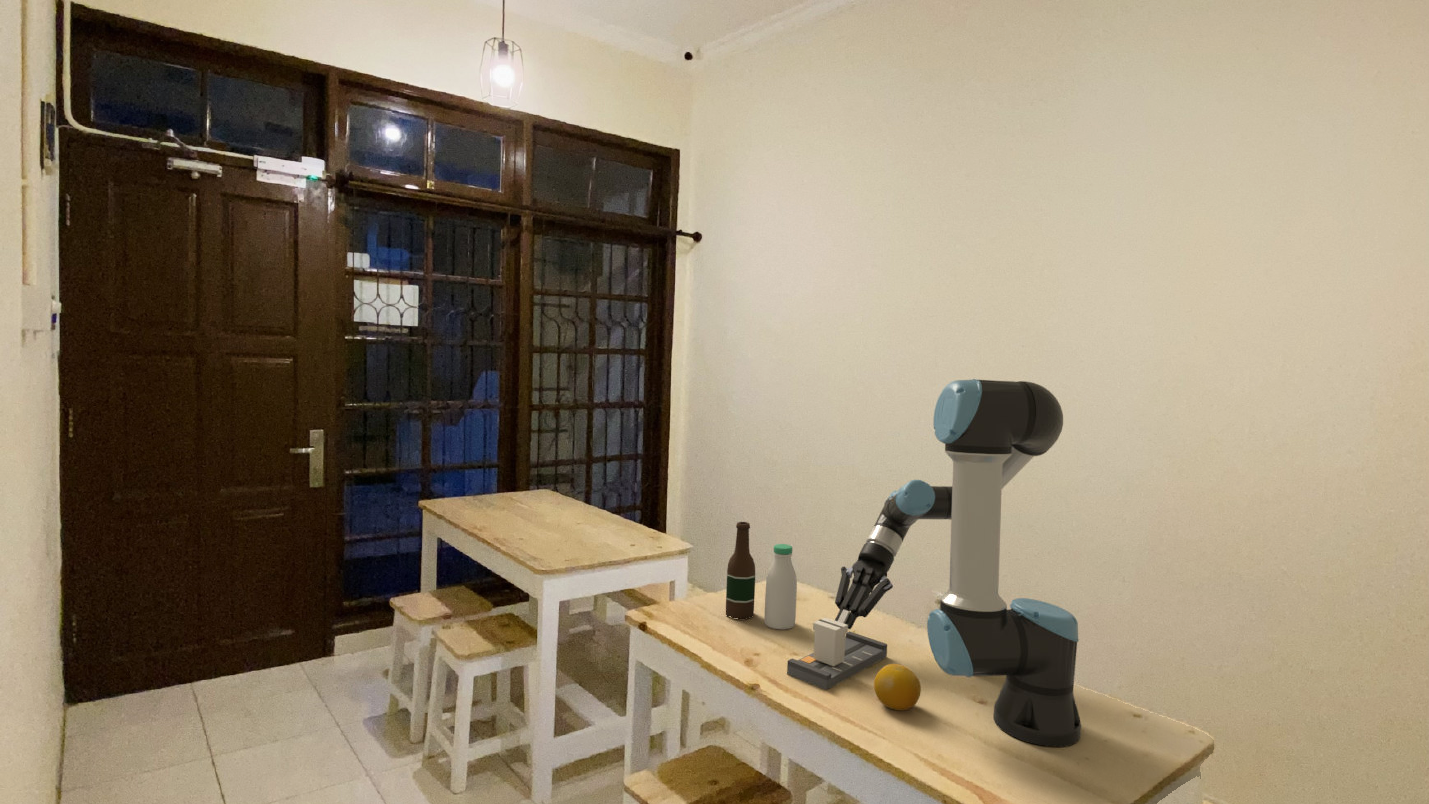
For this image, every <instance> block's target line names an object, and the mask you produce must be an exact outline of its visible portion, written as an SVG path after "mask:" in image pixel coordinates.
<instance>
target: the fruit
mask: <svg viewBox="0 0 1429 804" xmlns="http://www.w3.org/2000/svg"><path fill="white" fill-rule="evenodd" d="M873 689H874V692H875V695H876V697H877V699H878V700H879V701H880V703H881V704H882V705H884V706H885V707H887V708H889V709H892V710H895V711H905V710H906V711H907V710H909V709H910V708H912V707H914V706H916V704H917V703H918V701H919V699H920V696H921V692H922V686H921V682H920V679H919V678H918V675H916V673H915V672H913V670H911V669H910V668H908V667H907V666H904V665H902V664H897V663H890V664H887V665H884V666H883V667H882V668H881V669H879V671H878V672H877V673H876V675H875V678H874V682H873Z"/></svg>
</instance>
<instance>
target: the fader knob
mask: <svg viewBox="0 0 1429 804" xmlns="http://www.w3.org/2000/svg"><path fill="white" fill-rule="evenodd" d="M812 630H813V631H814V640H813V653H814V655H813V659H815V660H818V661H821V662H823V663H826V664H829V665H831V666H835V665H837V664H839V663H841V662H843V661H844V653H845V637H846V633H847V632H849V631H848V630H849V629H848V625H847V624H844V623H841V622H838V621H835V619H831V618H828V617H823V618H819V619H818V620H816V621H814V622H813V623H812Z"/></svg>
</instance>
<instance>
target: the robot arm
mask: <svg viewBox="0 0 1429 804" xmlns="http://www.w3.org/2000/svg"><path fill="white" fill-rule="evenodd" d="M933 412H934V414H933V429H934V435H935V437H936V439H937V440H938V441H939V442H940V443H943V444H944V453H945V454H946V455H947V456H948V457H949V458H950V459H951V460H952V484H951V485H952V486H951V485H949V486H945V485H943V486H942V485H940V486H935V485H931V484H929V483H928V482H926V481H923V480H921V479H913V480H910V481H908V482H906V483H905V484H904V485H902V486H901V487H899V489H898V490H894V491H892V492H891V493H890V494H889V496H888V498H886V500H885V502H884V505H883V507H882V509H881V511H880V513H879V514H878V516H877V520H876V521H875V523H874V525H873V527H872V529H871V530H870V532H869V534H868V536H867V538H866V539H865V543H864V544H863V546H862V547H861V550H860V552H859V554H858V557H857V560H856V561H855V562H854V563H853V564H852V566H850V567H846V566H842V567H841V568H840V574H841V576H840V581H839V585H838V588H837V593H836V596H835V600H834V604H835V605H836V607H837V608H838V609H839V611H838V613H837V615H836V617H835V618H834V620H835V621H838V622H841V623H844V624H847V625H848V630H851V629H852V628H853V626H854V624H855V623H856V620H857V619H858V618H859V617H863V618H866V617H867V616H868V615H870V613H871V612H872V611H873V609H874V608H875V607H876V606H877V604H878V603H879V601H880V600H881V599H882V598H883V597H884V595H885V594H886V593H887V592H889V591H890V590H891V589H893V588H894V587H893V583H892V582H891V580H890V578H888V572H889V570H890V569H891V567H892V565H893V563H894V561H895V557H897V554H898V552H899V550H900V549H901V546H902V543H903V542H904V539H905V538H906V536H907V534H908V532H909V530H910V528H911V526H913V524H915V523H916V522H917V521H918V520H951V522H950V525H951V526H950V551H949V554H950V555H949V582H948V587H949V588H948V589H947V591H946V592H944V593H943V594H941V596H940V598H939V599H940V600H939V601H940V602H939V603H940V604H939V608H935V609H934V610H933V609H932V610H931V611H930V612H929V614H928V617H927V623H926V628H927V638H928V643H929V646H930V649H931V653H932V655H933V657H934V660H935V662H936V664H937V665H938V667H939V668H940V669H941V670H942V671H943V672H944V673H945V674H947V675H950V676H956V677H957V676H958V677H967V678H972V677H991V676H992V677H995V676H996V677H997V676H1006V677H1005V681H1004V683H1003V685H1002V688H1001V690H1000V692H999V694H998V697H997V698H996V699H997V700H996V701H995V703H994V705H993V714H992V715H993V721H994V723H995V724H996V726H997V727H998V726H999V727H1000V728H1001V729H1000V728H999V729H1000V730H1002V731H1003V732H1004V731H1006V732H1007V733H1006V732H1005V733H1006V734H1008V735H1009V734H1010V735H1009V736H1011V737H1013V736H1014V737H1013V738H1015V737H1016V739H1018V740H1020V741H1024V742H1026V741H1028V742H1027V743H1029V742H1030V744H1033V743H1034V744H1033V745H1037V744H1038V746H1042V745H1048V746H1047V747H1051V746H1053V747H1054V746H1057V747H1056V748H1058V747H1059V748H1061V747H1060V746H1062V747H1067V746H1066V745H1069V746H1072V745H1074V744H1076V743H1078V742H1079V740H1080V739H1081V736H1082V735H1081V732H1082V722H1081V717H1080V714H1079V711H1078V710H1079V709H1078V706H1077V703H1076V699H1075V696H1074V687H1075V686H1074V684H1075V676H1076V673H1075V672H1076V664H1077V663H1076V661H1077V651H1078V642H1079V640H1080V639H1079V625H1078V620H1077V618H1076V617H1075V616H1074V615H1073V614H1072V613H1071V612H1070V611H1068V610H1066V609H1065V608H1063V607H1060V606H1057V605H1056V604H1052V603H1050V602H1046V601H1042V600H1039V599H1034V598H1033V599H1032V598H1025V597H1023V598H1022V597H1019V598H1018V597H1017V598H1015V599H1013V600H1012V601H1011V602H1010V604H1009V607H1010V608H1009V609H1008V608H1007V606H1008V604H1007V602H1005V600H1004V598H1002V597H1001V596H1000V594H999V579H1000V578H999V577H1000V554H1001V553H1000V552H1001V548H1000V547H1001V524H1002V523H1001V521H1002V520H1001V519H1002V518H1001V517H1002V491H1003V489H1004V488H1005V487H1006V486H1007V485H1008V484H1009V483H1010V482H1011V480H1013V479H1014V478H1015V476H1017V474H1018V473H1020V471H1022V469H1023V468H1024V467H1025V466H1026V465H1028V463H1029V462H1030V461H1031V460H1033V458H1034V457H1040V456H1042V455H1045V454H1046V453H1047V452H1048V451H1049V450H1050V449H1052V448H1053V446H1054V445H1055V444H1056V443H1057V441H1058V439H1059V437H1060V435H1061V434H1062V431H1063V426H1064V414H1063V410H1062V406H1061V404H1060V402H1059V401H1058V398H1057V397H1056V396H1055V394H1053V392H1051V391H1050V390H1049V389H1047V388H1046V387H1045V386H1043V385H1041V384H1038V383H1035V382H1031V381H1026V380H1025V381H1024V380H1022V381H1020V380H1018V381H1016V380H1015V381H1013V380H991V379H990V380H989V379H975V378H973V379H958V380H954V381H951V382H950V383H948V384H947V385H945V386H944V387H943V389H942V391H941V393H940V394H939V396H938V398H937V400H936V404H935V408H934V411H933ZM850 584H851V585H850ZM1075 742H1076V743H1075ZM1071 744H1072V745H1071Z"/></svg>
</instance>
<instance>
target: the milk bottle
mask: <svg viewBox="0 0 1429 804" xmlns="http://www.w3.org/2000/svg"><path fill="white" fill-rule="evenodd" d="M773 555H774V556H773V561H772V563H771V565H770V567H769V569H768V571H767V575H766V578H765V580H766V581H765V593H764V594H765V596H764V597H765V599H764V616H763V617H764V620H763V622H764V624H765V626H766V627H768V628H770V629H774V630H789V629H792V628H794V627H795V625H796V617H797V615H796V614H797V613H796V612H797V592H798V579H797V574H796V571H795V567H794V565H793V562H792V556H793V546H792V545H791V544H784V543H777V544H775V545H773Z"/></svg>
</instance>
